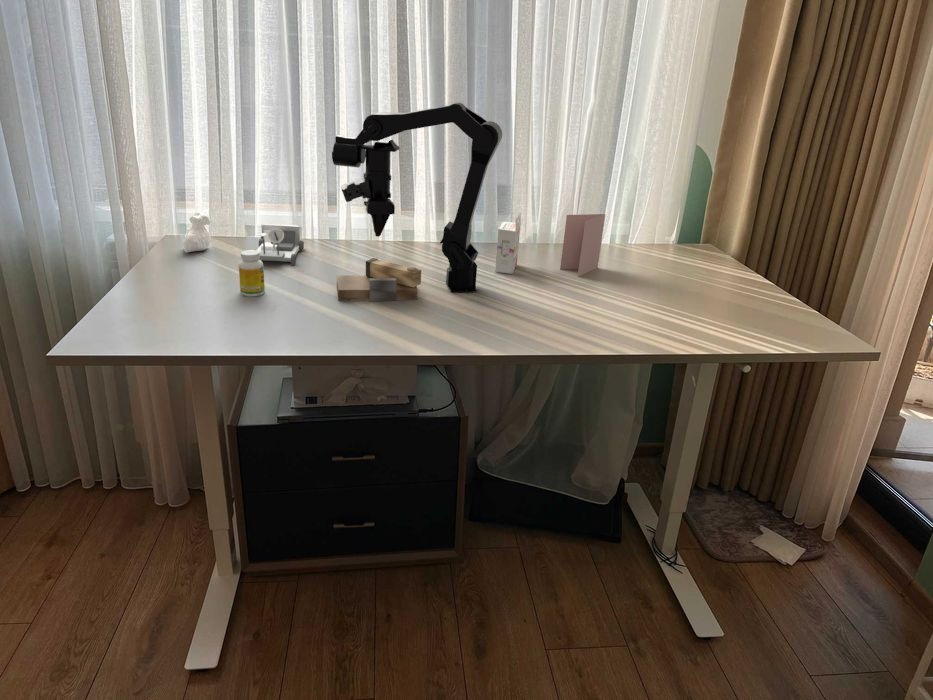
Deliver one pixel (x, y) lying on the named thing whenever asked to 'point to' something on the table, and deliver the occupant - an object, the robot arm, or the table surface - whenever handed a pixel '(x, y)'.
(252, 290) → the supplement bottle
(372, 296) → the brown wooden block
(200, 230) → the white tied sack
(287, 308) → the table surface
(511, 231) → the ink cartridge box
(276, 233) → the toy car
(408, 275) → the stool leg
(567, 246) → the greeting card
